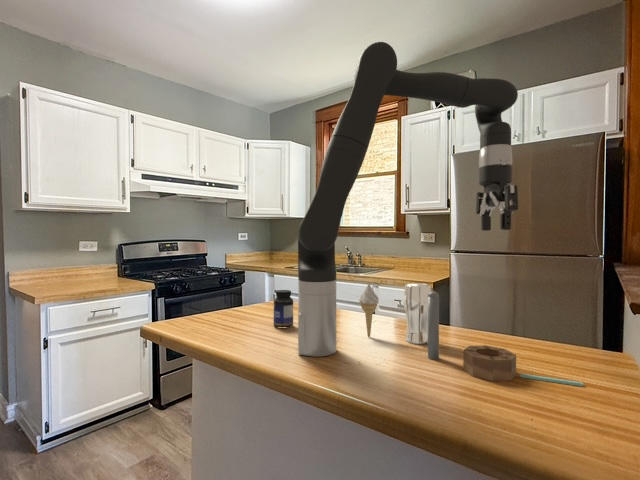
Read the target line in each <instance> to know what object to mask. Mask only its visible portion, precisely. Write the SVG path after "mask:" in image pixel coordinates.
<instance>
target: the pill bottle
mask: <svg viewBox="0 0 640 480" xmlns="http://www.w3.org/2000/svg"><path fill="white" fill-rule="evenodd" d="M291 295H292V291H291V290H290V289H277V290H276V291H275V296H276V298H275V299H273V327H274V326H275V327H274V328H276V327H289V328H291V327H290V326H292V325H293V326H294V299H293V298H292V297H291ZM293 326H292V327H293Z"/></svg>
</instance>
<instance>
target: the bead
mask: <svg viewBox="0 0 640 480" xmlns="http://www.w3.org/2000/svg"><path fill="white" fill-rule="evenodd" d="M462 351H463V353H462V354H463V355H462V356H463V357H462V358H463V367H462V368H463V370H464V371H465V372H467V373H468V374H469V376H472V377H474V378H478V379H482V380H486V381H491V382H510V381H511V382H512V381H513V379H515V377H516V376H517V354H516V353H513V352H512V351H510V350H507V349H505V348H502V347H497V346H491V345H486V344H485V345H469V346H468V345H467V347H465V348H464V349H463V350H462Z"/></svg>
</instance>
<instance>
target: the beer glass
mask: <svg viewBox="0 0 640 480" xmlns="http://www.w3.org/2000/svg"><path fill="white" fill-rule="evenodd" d="M431 288H432V287H431V284H428V283H423V282H422V283H421V282H420V283H419V282H417V283H416V282H413V283H411V282H410V283H409V282H408V283H405V284H404V290H403V291H404V293H403V303H404V304H403V305H404V306H403V307H404V311H405V319H406V324H407V325H406V327H407V328H406V335H405V341H406V342H407V343H408V344H413V345H421V346H422V345H428V294H429V293H430V292H432V289H431Z"/></svg>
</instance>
